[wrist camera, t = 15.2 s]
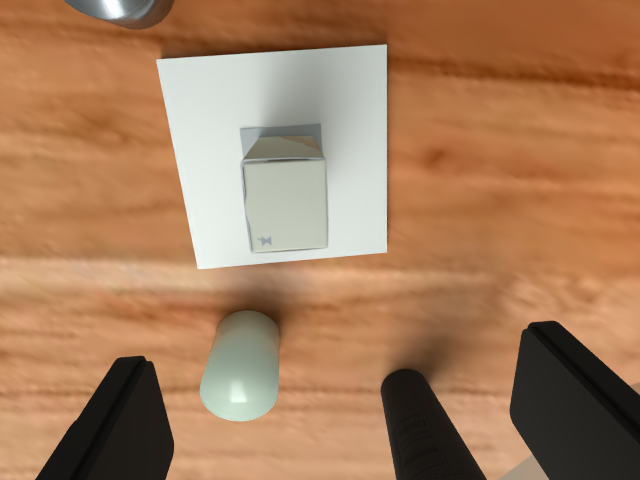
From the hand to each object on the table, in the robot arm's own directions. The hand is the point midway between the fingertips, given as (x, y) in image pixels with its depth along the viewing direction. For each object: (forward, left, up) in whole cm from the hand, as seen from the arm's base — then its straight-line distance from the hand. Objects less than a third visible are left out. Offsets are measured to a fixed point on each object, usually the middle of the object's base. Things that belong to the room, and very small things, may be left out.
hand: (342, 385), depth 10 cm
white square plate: (+2, -1, -23) cm, 24 cm away
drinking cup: (-8, +23, -24) cm, 34 cm away
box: (+1, -1, -23) cm, 22 cm away
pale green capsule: (+7, +15, -24) cm, 28 cm away
